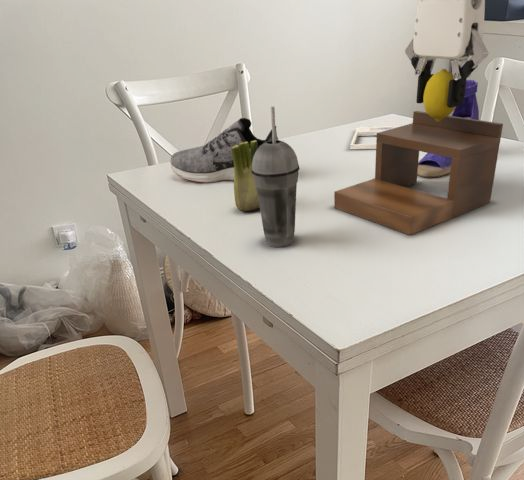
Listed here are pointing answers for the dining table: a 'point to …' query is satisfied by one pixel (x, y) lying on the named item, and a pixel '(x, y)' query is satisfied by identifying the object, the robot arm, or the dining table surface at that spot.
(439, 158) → the sandal
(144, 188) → the dining table surface
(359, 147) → the photo frame
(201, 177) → the athletic shoe
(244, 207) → the fennel bulb
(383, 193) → the stand
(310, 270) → the dining table surface
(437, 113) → the lemon
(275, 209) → the beverage cup
